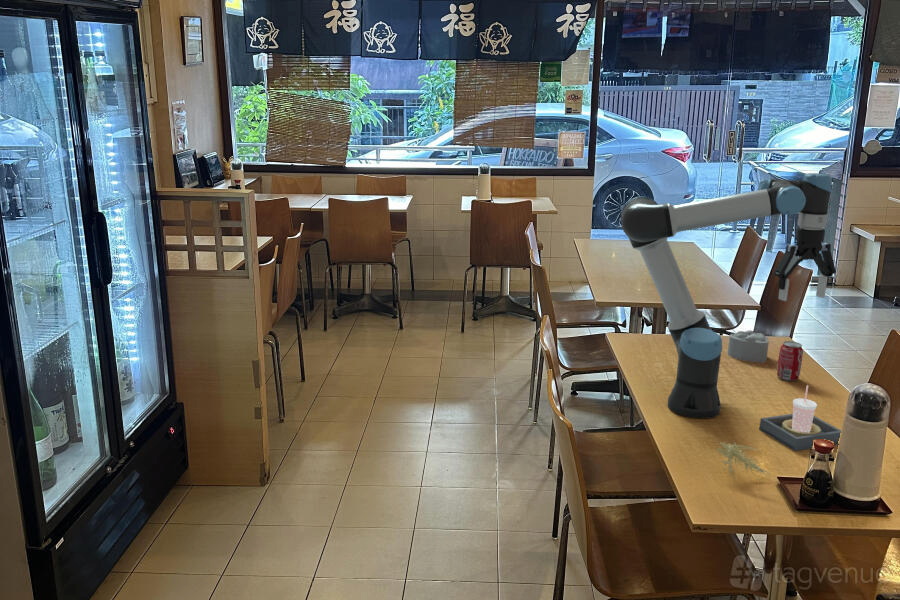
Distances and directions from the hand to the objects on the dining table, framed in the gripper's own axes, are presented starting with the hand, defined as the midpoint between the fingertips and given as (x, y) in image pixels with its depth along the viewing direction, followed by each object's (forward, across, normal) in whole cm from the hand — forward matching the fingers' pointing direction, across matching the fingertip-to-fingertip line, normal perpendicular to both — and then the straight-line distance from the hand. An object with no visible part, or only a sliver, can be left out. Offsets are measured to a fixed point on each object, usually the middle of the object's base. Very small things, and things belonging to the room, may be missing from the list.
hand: (801, 298), depth 240 cm
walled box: (+33, -14, -22) cm, 42 cm away
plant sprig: (+33, -44, -37) cm, 66 cm away
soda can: (+33, +14, +16) cm, 39 cm away
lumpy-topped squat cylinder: (+33, +14, +39) cm, 53 cm away
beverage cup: (+32, -14, -22) cm, 41 cm away
